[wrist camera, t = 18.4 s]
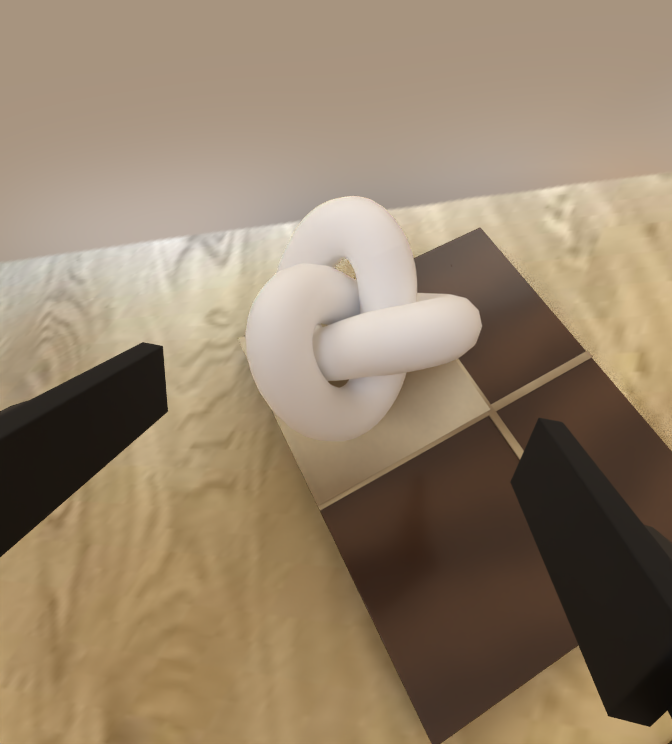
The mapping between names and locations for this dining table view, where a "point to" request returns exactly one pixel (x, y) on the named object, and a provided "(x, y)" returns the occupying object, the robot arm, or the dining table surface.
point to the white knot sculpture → (348, 322)
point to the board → (474, 492)
